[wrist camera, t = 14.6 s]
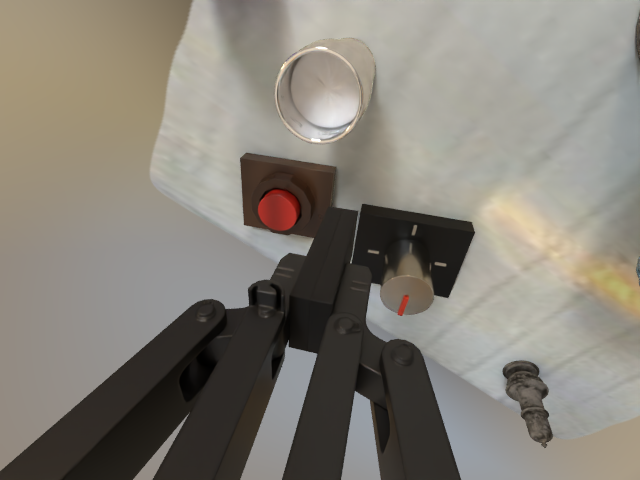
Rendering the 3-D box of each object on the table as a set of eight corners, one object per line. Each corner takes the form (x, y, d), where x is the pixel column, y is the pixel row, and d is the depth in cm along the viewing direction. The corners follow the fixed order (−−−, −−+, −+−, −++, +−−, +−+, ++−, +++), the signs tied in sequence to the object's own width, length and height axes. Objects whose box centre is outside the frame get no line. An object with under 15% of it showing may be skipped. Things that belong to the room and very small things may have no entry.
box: (336, 166, 43) (330, 179, 39) (328, 232, 48) (323, 248, 45) (246, 152, 44) (233, 163, 41) (249, 218, 50) (238, 232, 46)
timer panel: (471, 222, 43) (475, 233, 41) (446, 286, 49) (448, 298, 47) (362, 203, 45) (360, 213, 42) (351, 267, 51) (349, 279, 49)
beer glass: (390, 84, 36) (383, 121, 24) (334, 115, 39) (302, 161, 27) (362, 17, 33) (337, 19, 21) (303, 56, 36) (252, 77, 24)
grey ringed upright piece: (493, 367, 56) (511, 441, 46) (528, 355, 53) (556, 431, 43) (513, 386, 58) (535, 462, 48) (548, 375, 55) (579, 454, 45)
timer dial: (389, 234, 43) (386, 272, 37) (436, 244, 43) (441, 284, 36) (379, 269, 47) (374, 309, 40) (422, 279, 46) (424, 322, 40)
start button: (301, 192, 41) (297, 199, 40) (299, 226, 44) (295, 234, 43) (262, 185, 42) (257, 192, 41) (263, 220, 45) (258, 227, 43)
